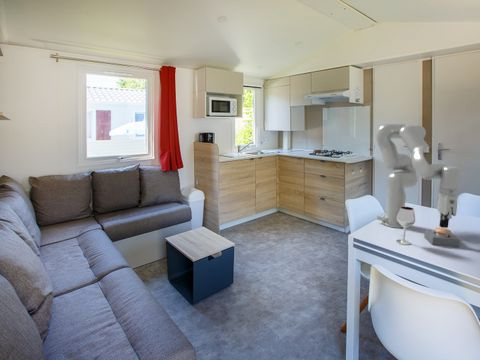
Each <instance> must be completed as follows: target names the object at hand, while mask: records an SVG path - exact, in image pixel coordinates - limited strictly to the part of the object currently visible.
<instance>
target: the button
mask: <svg viewBox="0 0 480 360" xmlns="http://www.w3.org/2000/svg"><path fill="white" fill-rule="evenodd" d="M434 231H435V232H436V235H437V236H440V237H448V234H451V233H452V231H451V230H450V229H449V228H442V227H434Z"/></svg>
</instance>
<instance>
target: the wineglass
mask: <svg viewBox="0 0 480 360" xmlns="http://www.w3.org/2000/svg"><path fill="white" fill-rule="evenodd" d="M397 221H398V223H399V224H400V225H401V226H402V227H403V231H402V232H403V233H402V234H403V235H402V239H396V242H397V244H400V245H403V246H404V245H405V246H409V245H411V242H410V241H409V240H406V239H405V237H406V230H407V228H409V227H411V226H412V225H414V224H415V223H416V214H415V209H414V207H409V206H405V207H401V208H400V210H399V212H398V215H397Z"/></svg>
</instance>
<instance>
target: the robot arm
mask: <svg viewBox="0 0 480 360" xmlns="http://www.w3.org/2000/svg"><path fill="white" fill-rule="evenodd" d="M426 135H427V132H426V129H425V127H424V126H421V125H420V124H406V123H405V124H404V123H387V124H383V125H381V126H379V127H378V129H377V130H376V133H375V140H376V143H377V145H378V147H379V150H380V154H381V157H382V160H383V163H384V166H385V168H386V169H387V170H388V171H395V172H392V173H390V174H389V175H388V176H387V177H386V178H387V179H386V185H387V195H386V196H387V197H386V206H385V214H384V215H383V216H376V220H377V221H381V223H382V225H384V226H386V227H390V228H397V229H402V228H403V227H402V226H401V225H400V224H399V223H398V221H397V215H398V212H399V210H400V208H401V207H406V199H407V197H406V195H407V193H406V191H405V188H406V189H407V188H412V187H415V186H416V185H417V184H418V180H419V178H418V176H419V177H420V178H422V179H423V180H428V181H429V180H438V179H439V180H440V181H439V191H438V194H439V195H438V201H437V207H436V209H437V212H438V213H439V225H438V226H439V228H445V229H449V222H450V220H451V219H452V218H453V216H454V217H455V216H457V209H458V195H459V193H458V192H459V185H460V178H461V171H462V169H461V168H460V167H458V166H453V165H451V166H450V165H445V164H443V163H436V164H434V163H433V164H431V163H430V164H429V162H428V161H427V160H426V158H425V156H424V153H425V152H427V150H428V148H429V145H428V143H427V142H426V141H425V139H424V138H426ZM393 139H401V140H402V142H403V143H404V144H405V146H406V147H407V148H408V151H409V152H410V153H411V156H409V155H408V154H405V153H399V151H398V149H397V146H396V144H395V143H394V142H393V141H392V140H393ZM403 229H404V228H403Z"/></svg>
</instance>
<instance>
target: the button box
mask: <svg viewBox="0 0 480 360" xmlns="http://www.w3.org/2000/svg"><path fill="white" fill-rule="evenodd" d="M423 235H424V237H423V238H424V239H425V240H426V241H428V243H430V245H431V246H439V247H440V246H441V247H442V246H443V247H451V248H455V247H456V248H460V245H461V238H459V237H458V236H457V235H456V234H454V233H452V232H451V234H448V237H440V236H437V235H436V232H435V230H427V229H425V230H424V234H423Z"/></svg>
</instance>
